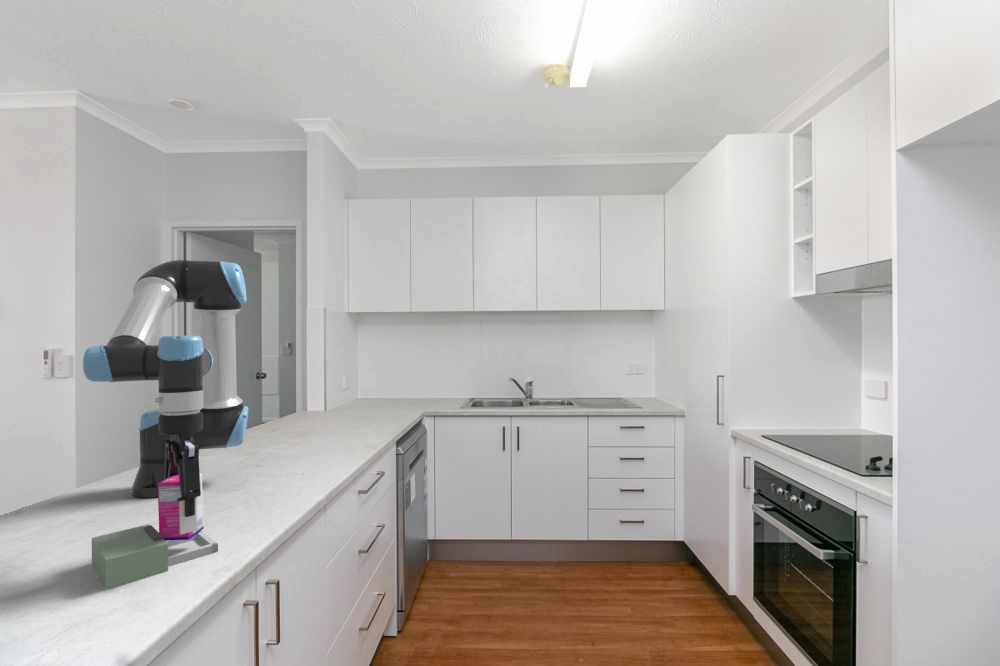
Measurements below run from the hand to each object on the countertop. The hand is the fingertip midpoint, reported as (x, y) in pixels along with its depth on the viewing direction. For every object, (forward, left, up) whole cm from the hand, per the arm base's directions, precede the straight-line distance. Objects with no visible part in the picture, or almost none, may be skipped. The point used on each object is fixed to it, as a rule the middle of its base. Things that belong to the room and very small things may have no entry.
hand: (181, 526), depth 98 cm
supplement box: (0, 0, -2) cm, 2 cm away
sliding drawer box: (0, -4, -5) cm, 7 cm away
